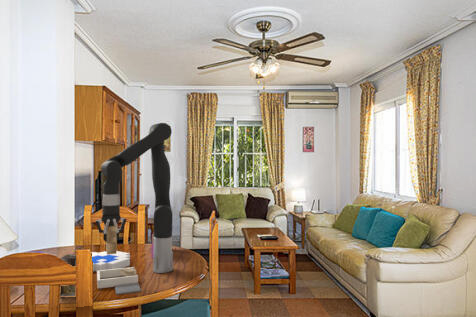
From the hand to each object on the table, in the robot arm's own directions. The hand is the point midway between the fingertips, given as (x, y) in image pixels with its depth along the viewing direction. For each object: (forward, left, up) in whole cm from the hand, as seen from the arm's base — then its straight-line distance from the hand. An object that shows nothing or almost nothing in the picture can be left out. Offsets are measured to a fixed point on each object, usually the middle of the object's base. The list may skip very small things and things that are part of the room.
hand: (111, 241), depth 160 cm
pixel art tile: (+3, -31, -19) cm, 37 cm away
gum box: (-31, -43, -19) cm, 56 cm away
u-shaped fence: (-2, 0, -19) cm, 19 cm away
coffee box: (+15, +12, -19) cm, 27 cm away
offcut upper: (-8, 0, -17) cm, 18 cm away
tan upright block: (0, 0, -5) cm, 5 cm away
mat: (-6, +13, -19) cm, 24 cm away
